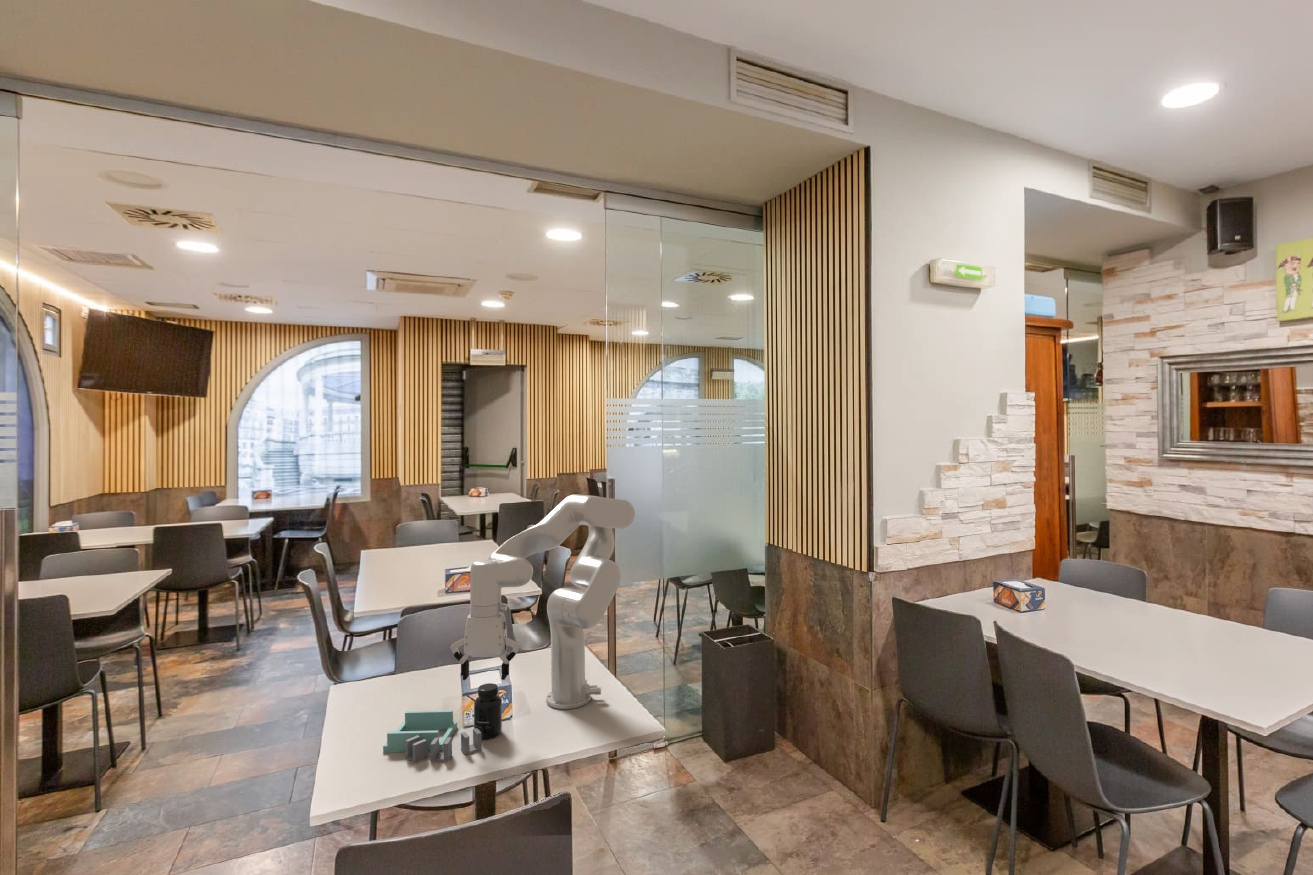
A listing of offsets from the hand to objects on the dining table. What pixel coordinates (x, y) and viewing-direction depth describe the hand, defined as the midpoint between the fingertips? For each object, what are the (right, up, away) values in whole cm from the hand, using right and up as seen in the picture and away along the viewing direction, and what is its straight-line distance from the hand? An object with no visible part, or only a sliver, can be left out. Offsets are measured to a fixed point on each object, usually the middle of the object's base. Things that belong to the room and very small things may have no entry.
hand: (485, 678), depth 156 cm
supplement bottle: (+1, -15, +1) cm, 15 cm away
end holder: (-15, -15, -2) cm, 21 cm away
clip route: (-7, -15, -9) cm, 18 cm away
